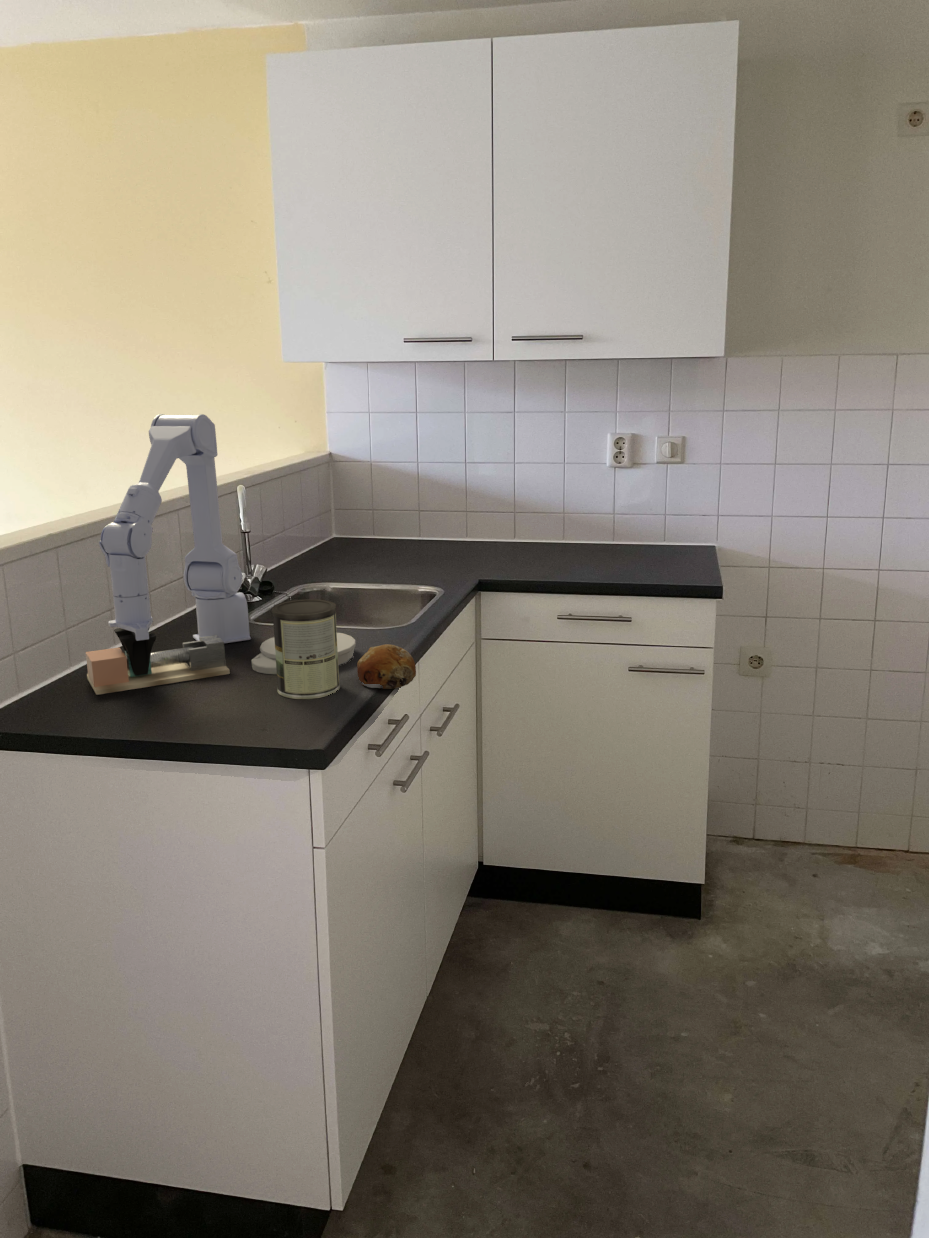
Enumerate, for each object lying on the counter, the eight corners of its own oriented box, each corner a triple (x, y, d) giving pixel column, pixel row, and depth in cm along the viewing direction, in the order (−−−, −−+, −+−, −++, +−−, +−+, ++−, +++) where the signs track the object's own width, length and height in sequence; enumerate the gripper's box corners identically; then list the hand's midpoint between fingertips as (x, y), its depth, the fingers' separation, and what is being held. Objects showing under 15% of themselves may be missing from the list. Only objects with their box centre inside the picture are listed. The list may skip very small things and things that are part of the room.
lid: (228, 664, 178) (227, 648, 177) (314, 640, 192) (314, 626, 191) (289, 683, 166) (288, 666, 166) (376, 656, 181) (375, 641, 180)
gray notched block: (217, 658, 177) (216, 634, 176) (225, 665, 173) (223, 641, 172) (184, 663, 175) (182, 639, 173) (191, 671, 170) (189, 646, 169)
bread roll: (416, 694, 171) (416, 648, 172) (415, 687, 160) (414, 638, 162) (359, 695, 170) (359, 650, 172) (354, 688, 160) (354, 640, 162)
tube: (191, 662, 174) (189, 641, 173) (195, 667, 171) (194, 645, 170) (102, 675, 167) (100, 653, 166) (105, 680, 164) (103, 658, 164)
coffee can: (263, 691, 162) (258, 607, 158) (311, 676, 169) (306, 596, 166) (306, 704, 155) (301, 617, 152) (353, 687, 163) (349, 604, 159)
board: (214, 659, 180) (214, 655, 179) (229, 673, 171) (229, 669, 171) (87, 678, 169) (86, 674, 169) (96, 694, 161) (95, 690, 161)
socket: (122, 671, 170) (119, 647, 169) (128, 681, 165) (126, 656, 164) (88, 676, 168) (85, 651, 167) (94, 687, 162) (91, 661, 161)
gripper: (98, 588, 169) (107, 663, 173) (113, 605, 157) (121, 686, 160) (141, 583, 173) (148, 657, 176) (158, 600, 160) (166, 679, 164)
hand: (138, 671), depth 168 cm, fingers open, 4 cm apart
